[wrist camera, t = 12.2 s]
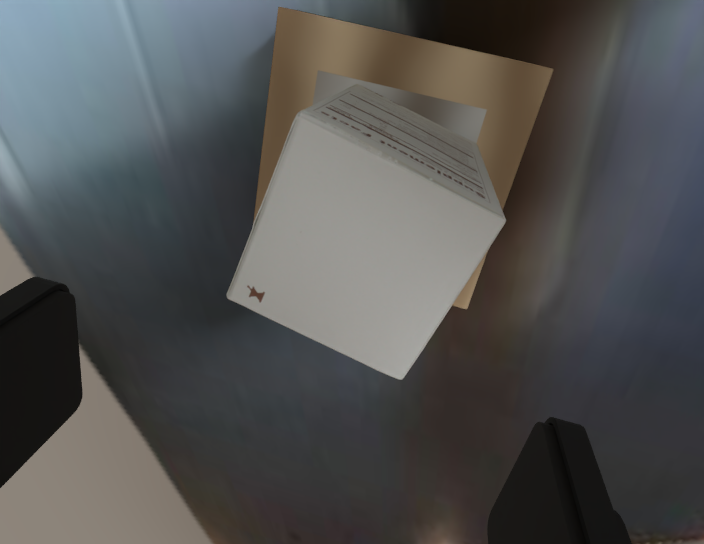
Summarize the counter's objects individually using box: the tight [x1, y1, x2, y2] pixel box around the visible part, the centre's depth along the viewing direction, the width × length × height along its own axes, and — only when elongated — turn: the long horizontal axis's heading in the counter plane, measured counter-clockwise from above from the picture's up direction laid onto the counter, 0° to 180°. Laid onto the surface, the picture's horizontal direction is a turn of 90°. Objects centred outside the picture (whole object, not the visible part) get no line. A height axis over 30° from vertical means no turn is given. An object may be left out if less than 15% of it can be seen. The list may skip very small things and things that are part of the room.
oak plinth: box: [253, 7, 554, 309], centre depth 29 cm, size 14×14×4 cm
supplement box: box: [226, 84, 506, 380], centre depth 22 cm, size 7×7×13 cm
